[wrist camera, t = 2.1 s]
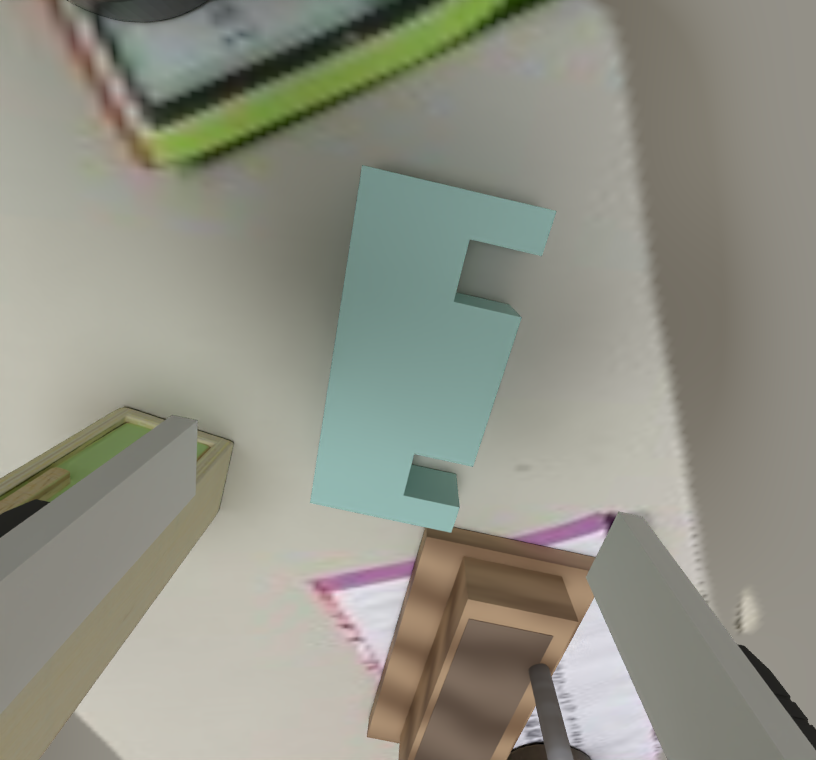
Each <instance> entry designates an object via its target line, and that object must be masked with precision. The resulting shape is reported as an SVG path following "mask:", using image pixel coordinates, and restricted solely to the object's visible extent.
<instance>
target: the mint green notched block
mask: <svg viewBox="0 0 816 760" xmlns="http://www.w3.org/2000/svg"><path fill="white" fill-rule="evenodd" d="M555 215H556V211H554V210H550V209H546V208H541V207H537V206H533V205H529V204H524V203H520V202H516V201H512V200H507V199H503V198H499V197H495V196H491V195H486V194H482V193H478V192H474V191H469V190H465V189H461V188H457V187H453V186H448V185H444V184H440V183H436V182H431V181H427V180H423V179H419V178H415V177H410V176H406V175H402V174H398V173H393V172H389V171H385V170H381V169H376V168H372V167H368V166H364V165H362V169H361V176H360V182H359V189H358V195H357V202H356V208H355V215H354V221H353V228H352V234H351V241H350V247H349V254H348V260H347V267H346V273H345V280H344V286H343V293H342V299H341V306H340V312H339V319H338V325H337V332H336V338H335V345H334V351H333V358H332V364H331V371H330V377H329V384H328V390H327V397H326V403H325V410H324V416H323V423H322V429H321V436H320V442H319V449H318V455H317V462H316V468H315V475H314V481H313V488H312V494H311V501H310V503H313V504H318V505H322V506H327V507H332V508H336V509H341V510H346V511H351V512H355V513H360V514H365V515H370V516H374V517H379V518H384V519H389V520H393V521H398V522H403V523H407V524H412V525H417V526H422V527H426V528H431V529H436V530H441V531H445V532H450V533H451V532H452V529H453V526H454V523H455V520H456V517H457V514H458V511H459V508H460V507H459V497H458V488H457V478H456V474H453V473H449V472H444V471H439V470H435V469H430V468H425V467H421V466H416V465H412V460H413V457H414V454H416V455H421V456H425V457H430V458H435V459H439V460H444V461H449V462H453V463H458V464H462V465H467V466H472V467H473V465H474V462H475V459H476V456H477V453H478V450H479V447H480V444H481V440H482V437H483V434H484V431H485V428H486V425H487V422H488V419H489V416H490V413H491V410H492V407H493V404H494V401H495V398H496V395H497V392H498V389H499V386H500V382H501V379H502V376H503V373H504V370H505V367H506V364H507V361H508V358H509V355H510V352H511V349H512V346H513V343H514V340H515V337H516V334H517V331H518V327H519V324H520V321H521V318H522V317H521V316H520V315H519V314H518V313H517V312H516V311H515V310H514V309H513V308H512V307H511V306H510V305H509V304H505V303H500V302H496V301H491V300H487V299H483V298H478V297H474V296H470V295H465V294H461V293H456V290H457V287H458V283H459V279H460V275H461V271H462V267H463V263H464V260H465V256H466V252H467V248H468V244H469V240H475V241H479V242H483V243H488V244H492V245H496V246H500V247H505V248H509V249H513V250H518V251H522V252H526V253H531V254H535V255H539V256H542V254H543V251H544V248H545V245H546V242H547V239H548V236H549V233H550V230H551V227H552V224H553V221H554V218H555Z"/></svg>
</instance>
